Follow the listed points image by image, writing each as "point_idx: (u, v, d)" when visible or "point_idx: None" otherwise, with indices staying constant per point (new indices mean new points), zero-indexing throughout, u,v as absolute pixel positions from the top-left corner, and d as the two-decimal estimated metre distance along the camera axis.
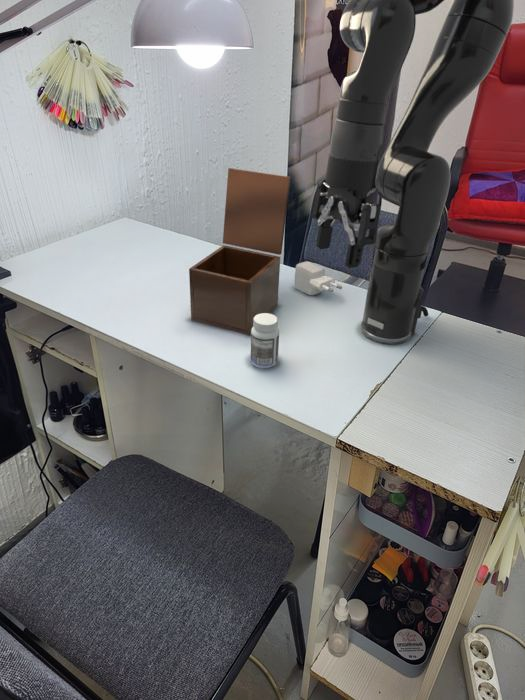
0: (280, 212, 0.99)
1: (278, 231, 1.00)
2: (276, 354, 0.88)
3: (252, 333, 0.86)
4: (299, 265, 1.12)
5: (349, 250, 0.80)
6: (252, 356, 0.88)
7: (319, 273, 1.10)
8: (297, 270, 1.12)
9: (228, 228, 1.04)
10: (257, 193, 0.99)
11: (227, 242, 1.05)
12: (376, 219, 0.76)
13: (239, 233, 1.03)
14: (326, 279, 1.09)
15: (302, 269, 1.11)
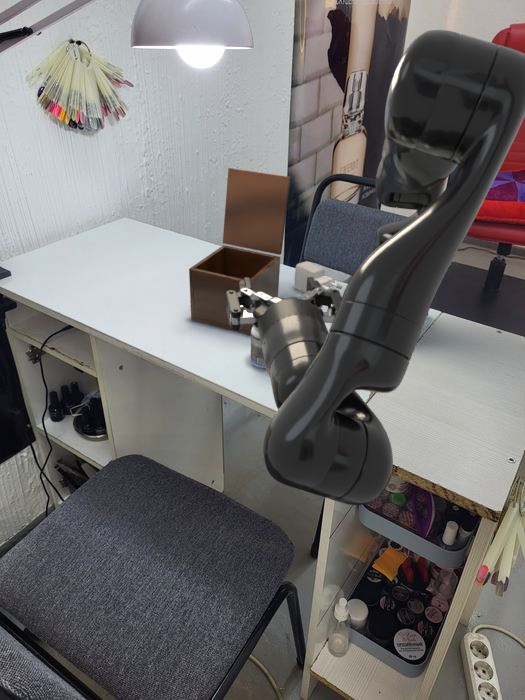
0: (280, 212, 0.99)
1: (278, 231, 1.00)
2: None
3: (252, 333, 0.86)
4: (299, 265, 1.12)
5: None
6: (252, 356, 0.88)
7: (319, 273, 1.10)
8: (297, 270, 1.12)
9: (228, 228, 1.04)
10: (257, 193, 0.99)
11: (227, 242, 1.05)
12: None
13: (239, 233, 1.03)
14: (326, 279, 1.09)
15: (302, 269, 1.11)
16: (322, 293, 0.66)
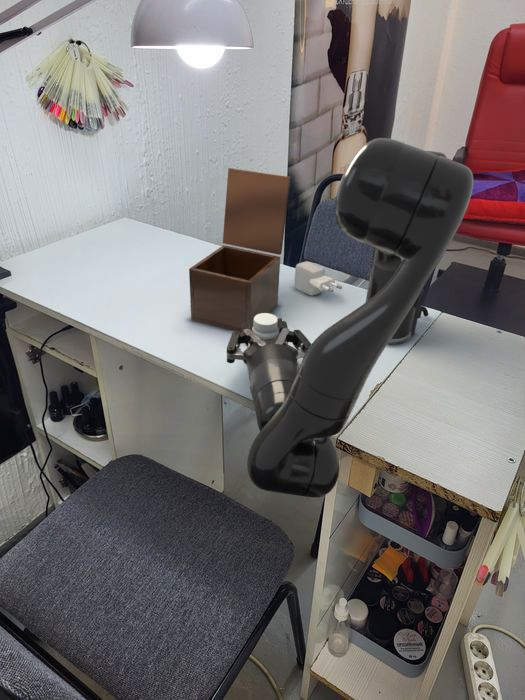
0: (280, 212, 0.99)
1: (278, 231, 1.00)
2: None
3: None
4: (299, 265, 1.12)
5: None
6: None
7: (319, 273, 1.10)
8: (297, 270, 1.12)
9: (228, 228, 1.04)
10: (257, 193, 0.99)
11: (227, 242, 1.05)
12: None
13: (239, 233, 1.03)
14: (326, 279, 1.09)
15: (302, 269, 1.11)
16: None
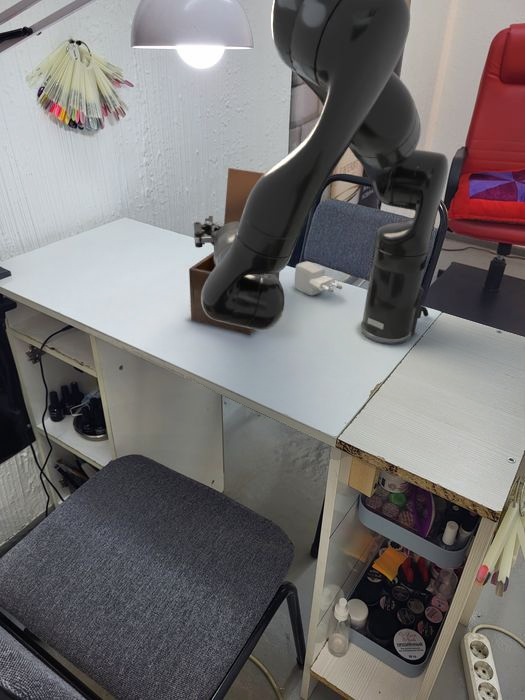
0: None
1: None
2: None
3: None
4: (299, 265, 1.12)
5: None
6: None
7: (319, 273, 1.10)
8: (297, 270, 1.12)
9: None
10: None
11: None
12: None
13: None
14: (326, 279, 1.09)
15: (302, 269, 1.11)
16: None
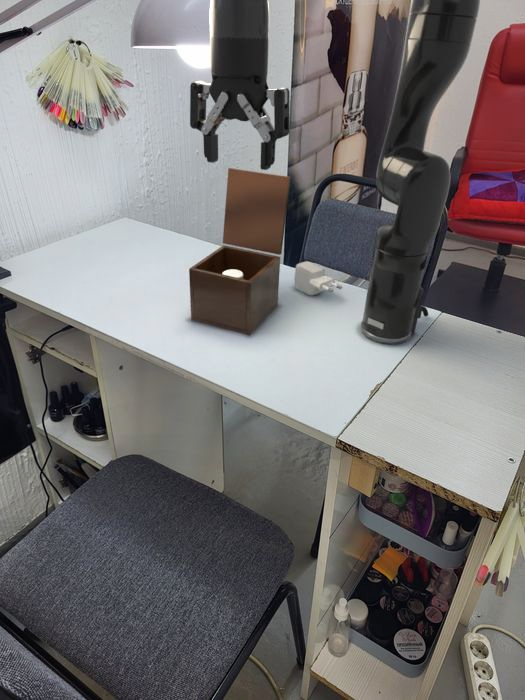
0: (280, 212, 0.99)
1: (278, 231, 1.00)
2: None
3: None
4: (299, 265, 1.12)
5: (263, 149, 0.71)
6: None
7: (319, 273, 1.10)
8: (297, 270, 1.12)
9: (228, 228, 1.04)
10: (257, 193, 0.99)
11: (227, 242, 1.05)
12: (288, 105, 0.69)
13: (239, 233, 1.03)
14: (326, 279, 1.09)
15: (302, 269, 1.11)
16: (274, 130, 0.72)
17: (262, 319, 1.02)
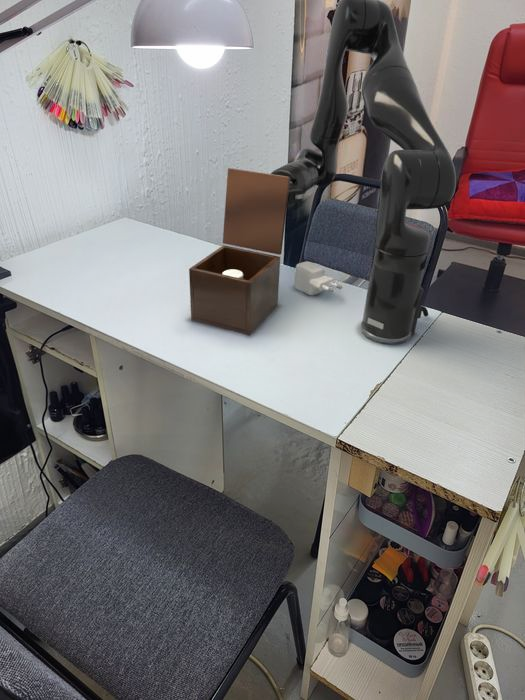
0: (280, 212, 0.99)
1: (278, 231, 1.00)
2: None
3: None
4: (299, 265, 1.12)
5: None
6: None
7: (319, 273, 1.10)
8: (297, 270, 1.12)
9: (228, 228, 1.04)
10: (256, 193, 0.99)
11: (227, 243, 1.05)
12: None
13: (239, 233, 1.03)
14: (326, 279, 1.09)
15: (303, 269, 1.11)
16: None
17: (262, 319, 1.02)
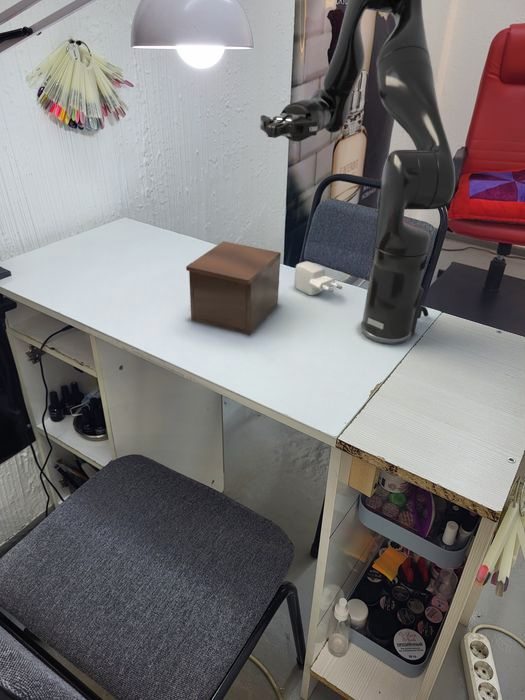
0: None
1: None
2: None
3: None
4: (299, 265, 1.12)
5: None
6: None
7: (319, 273, 1.10)
8: (297, 270, 1.12)
9: None
10: None
11: None
12: (262, 119, 1.06)
13: None
14: (326, 279, 1.09)
15: (303, 269, 1.11)
16: None
17: (262, 319, 1.02)
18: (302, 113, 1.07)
